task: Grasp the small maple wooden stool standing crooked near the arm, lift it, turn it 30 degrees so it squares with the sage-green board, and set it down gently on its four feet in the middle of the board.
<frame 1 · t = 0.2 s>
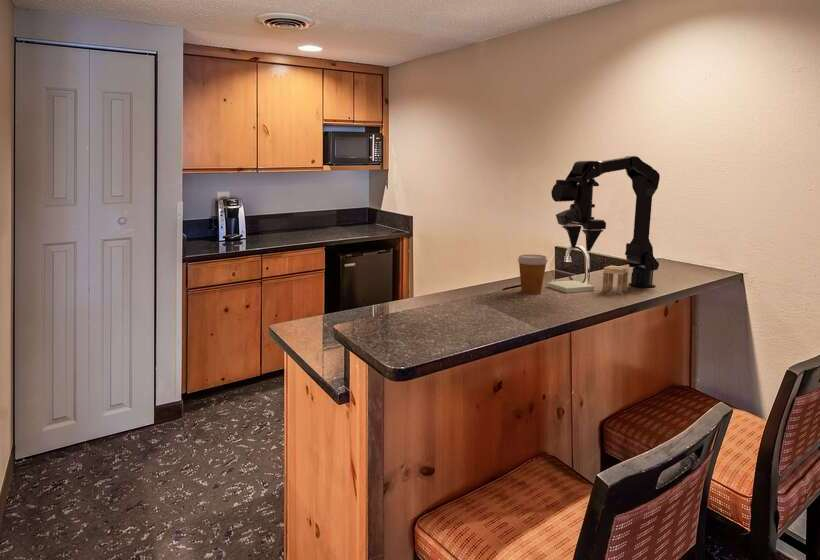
hand: (580, 249, 185), 14 cm above the countertop, fingers open, 9 cm apart
maple stool: (614, 291, 188), on the countertop
sage board: (570, 288, 192), on the countertop
disposable coffee cup: (531, 293, 186), on the countertop
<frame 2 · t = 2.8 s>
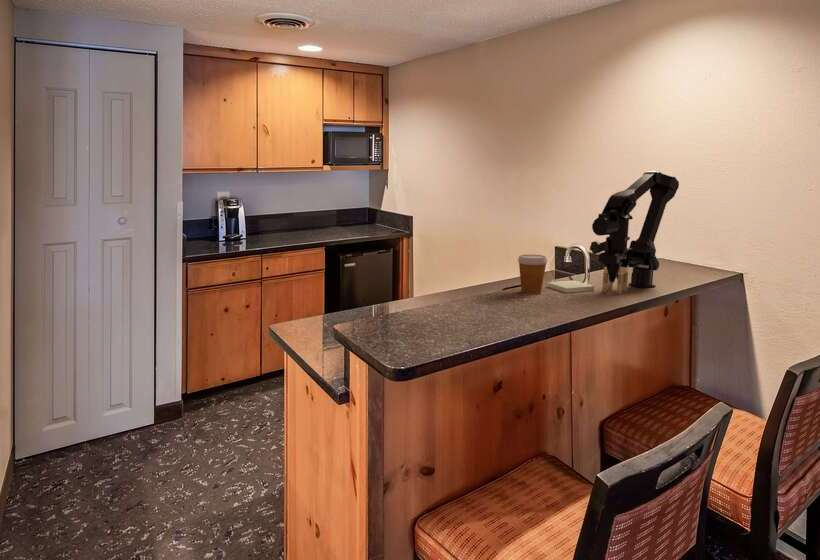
hand: (615, 280, 187), 4 cm above the countertop, fingers closed on maple stool, 6 cm apart
maple stool: (614, 291, 188), on the countertop, touching gripper
everything else where it was.
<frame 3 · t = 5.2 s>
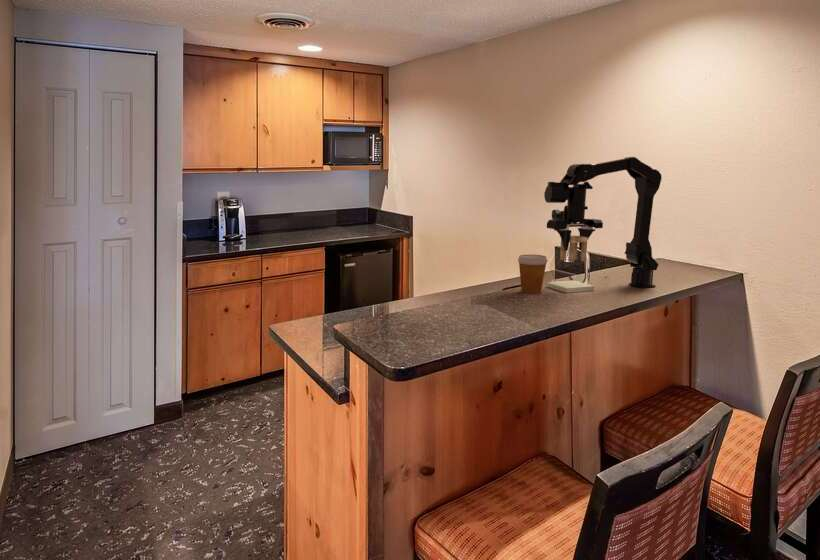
hand: (573, 249, 190), 13 cm above the countertop, fingers closed on maple stool, 6 cm apart
maple stool: (572, 260, 190), point 10 cm above the countertop, touching gripper
everything else where it was.
when the fingers open (6 cm above the countertop, at t = 7.7 s): maple stool stays where it is, resting on sage board.
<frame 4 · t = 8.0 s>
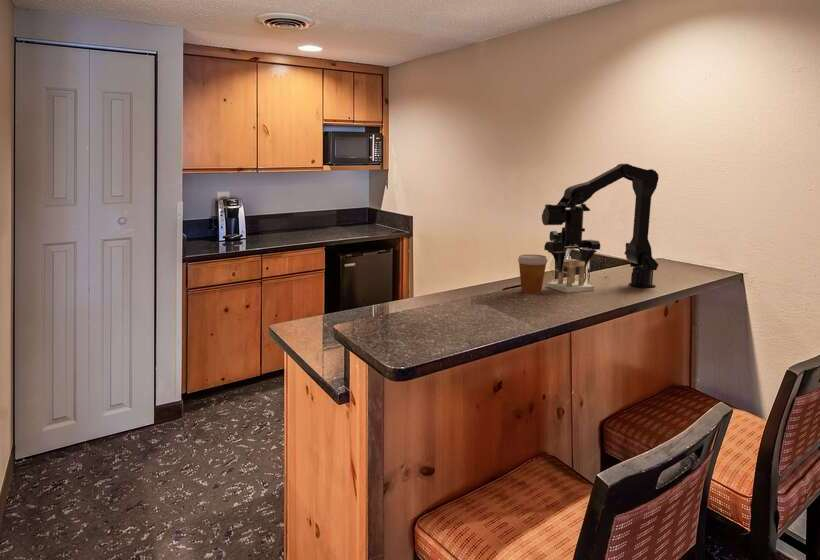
hand: (571, 271, 191), 6 cm above the countertop, fingers open, 9 cm apart
maple stool: (570, 284, 192), point 1 cm above the countertop, touching sage board
everything else where it was.
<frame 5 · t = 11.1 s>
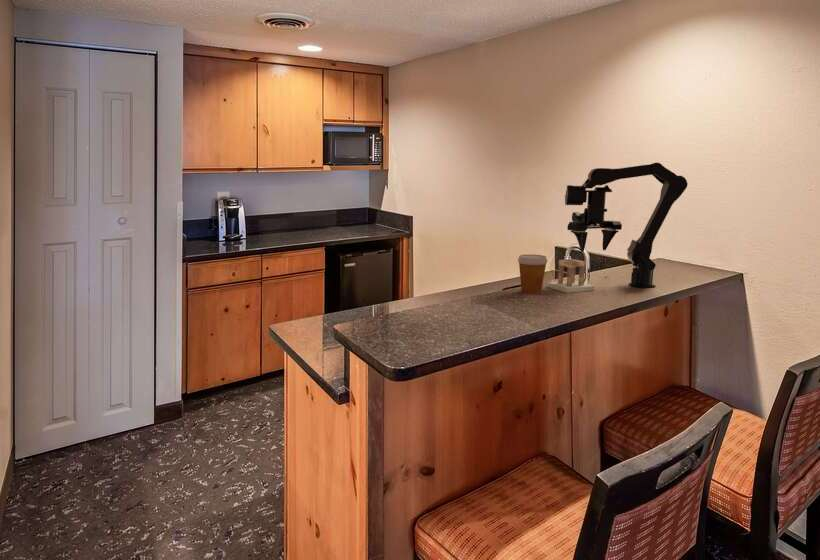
hand: (593, 250, 197), 12 cm above the countertop, fingers open, 9 cm apart
nothing on the countertop moved.
at the end: maple stool 0.1 cm off-centre on the sage board, point 1.5 cm above the sage board's base; maple stool tilted 0°; the gripper is holding nothing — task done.
